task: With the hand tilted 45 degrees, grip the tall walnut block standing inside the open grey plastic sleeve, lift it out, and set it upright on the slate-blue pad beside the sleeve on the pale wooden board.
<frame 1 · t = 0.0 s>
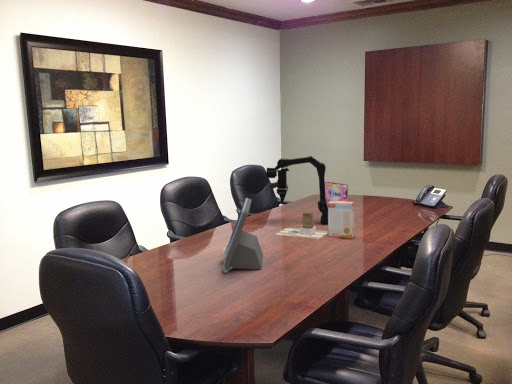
hand: (282, 201, 315), 15 cm above the table, tool pointing down, fingers open, 9 cm apart
cracker box: (341, 237, 279), on the table
sleeve: (307, 230, 286), on the board, point 3 cm above the table
touchscreen device: (243, 262, 238), on the table
walnut block: (307, 223, 285), in the sleeve, point 7 cm above the table, touching board
gum box: (334, 200, 396), on the table
board: (307, 234, 286), on the table
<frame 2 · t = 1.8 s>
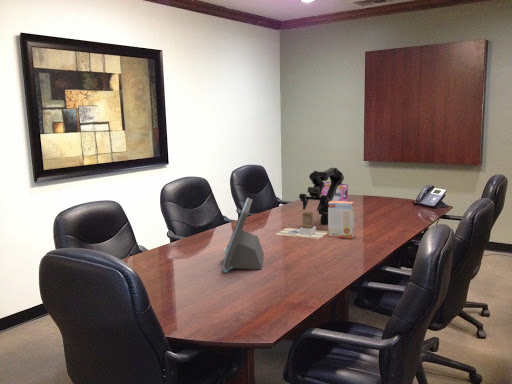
hand: (310, 210, 291), 13 cm above the table, tool tilted 45°, fingers open, 9 cm apart
nothing on the table moved.
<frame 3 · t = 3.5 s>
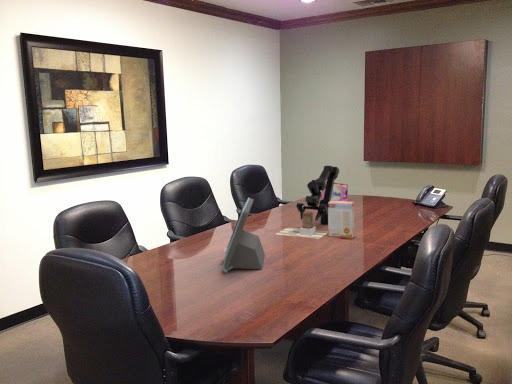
hand: (308, 219, 286), 9 cm above the table, tool tilted 45°, fingers open, 9 cm apart
nothing on the table moved.
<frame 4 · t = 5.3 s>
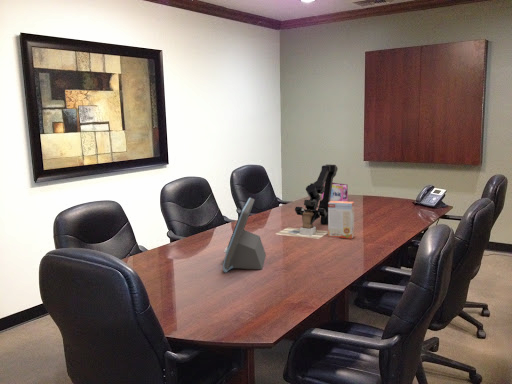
hand: (306, 223, 284), 7 cm above the table, tool tilted 45°, fingers closed on walnut block, 4 cm apart
walnut block: (307, 223, 285), in the sleeve, point 7 cm above the table, touching board, gripper
everything else where it was.
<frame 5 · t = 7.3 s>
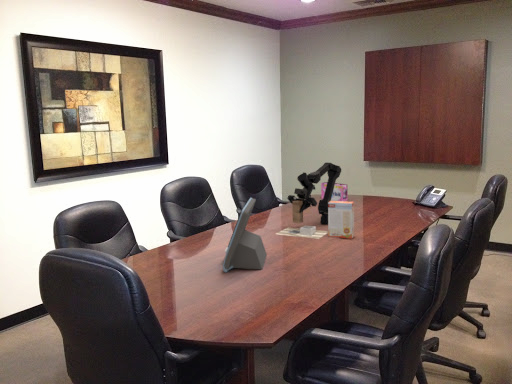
hand: (296, 212, 287), 13 cm above the table, tool tilted 45°, fingers closed on walnut block, 4 cm apart
walnut block: (297, 211, 288), point 13 cm above the table, touching gripper
when the fingers open (8 cm above the table, at t = 9.5 s): walnut block stays where it is, resting on board.
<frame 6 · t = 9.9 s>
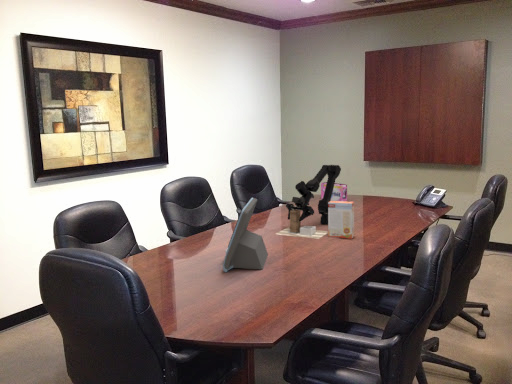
hand: (293, 220, 289), 8 cm above the table, tool tilted 45°, fingers open, 8 cm apart
walnut block: (295, 221, 290), on the board, point 7 cm above the table
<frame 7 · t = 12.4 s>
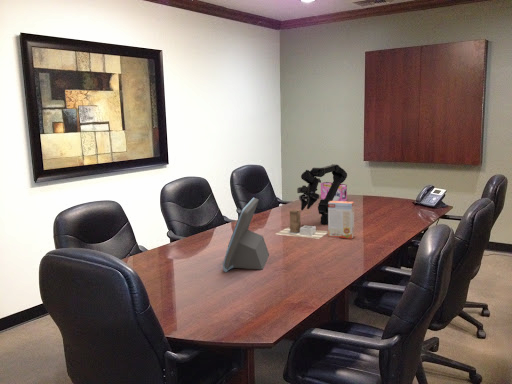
hand: (304, 209, 296), 13 cm above the table, tool tilted 30°, fingers open, 9 cm apart
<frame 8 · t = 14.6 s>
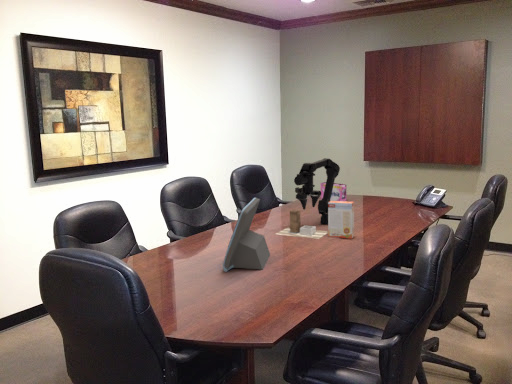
hand: (308, 208, 299), 13 cm above the table, tool pointing down, fingers open, 9 cm apart
at the end: walnut block 0.0 cm from the target spot, point 7.3 cm above the table; walnut block tilted 0°; the gripper is holding nothing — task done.
